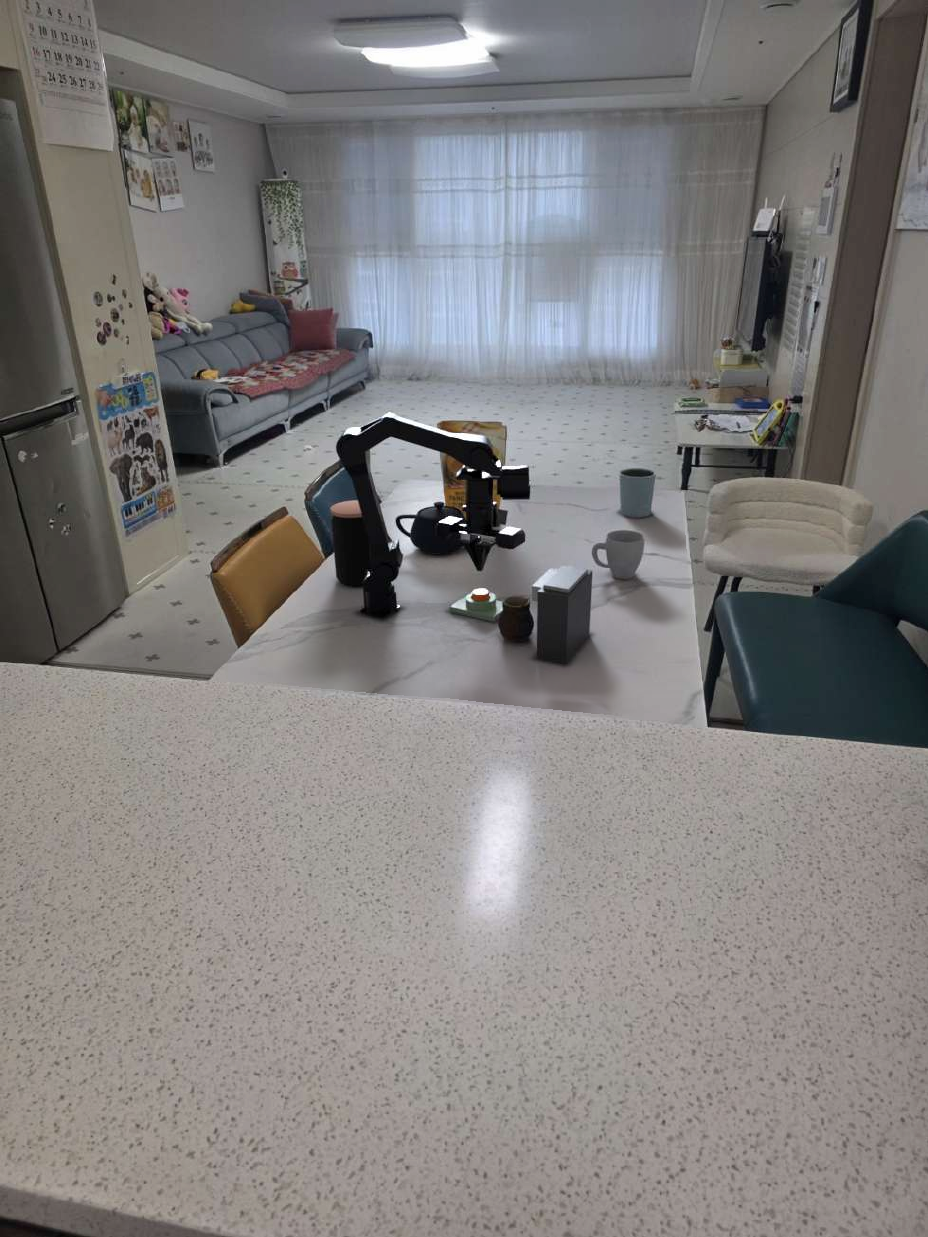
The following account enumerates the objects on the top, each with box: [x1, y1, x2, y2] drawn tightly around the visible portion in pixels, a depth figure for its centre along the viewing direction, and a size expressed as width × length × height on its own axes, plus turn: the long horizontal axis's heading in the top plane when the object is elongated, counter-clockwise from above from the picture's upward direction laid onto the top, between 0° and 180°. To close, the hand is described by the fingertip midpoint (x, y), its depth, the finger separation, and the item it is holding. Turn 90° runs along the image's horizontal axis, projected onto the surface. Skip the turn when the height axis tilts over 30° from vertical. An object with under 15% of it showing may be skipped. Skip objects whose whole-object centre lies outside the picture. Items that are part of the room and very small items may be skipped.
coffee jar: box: [330, 499, 371, 588], centre depth 192 cm, size 11×11×18 cm
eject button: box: [471, 588, 490, 601], centre depth 177 cm, size 4×4×2 cm
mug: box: [591, 529, 646, 580], centre depth 193 cm, size 12×9×10 cm
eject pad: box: [449, 592, 503, 623], centre depth 178 cm, size 11×8×3 cm
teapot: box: [394, 501, 466, 555], centre depth 212 cm, size 25×16×12 cm, turn 81°
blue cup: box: [618, 467, 657, 519], centre depth 235 cm, size 10×10×12 cm
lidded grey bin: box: [531, 565, 593, 665], centre depth 160 cm, size 8×14×15 cm, turn 154°
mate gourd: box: [497, 595, 535, 643], centre depth 164 cm, size 7×8×10 cm
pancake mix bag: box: [436, 420, 508, 519], centre depth 229 cm, size 7×19×28 cm, turn 77°
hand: (480, 570), depth 175 cm, fingers closed
